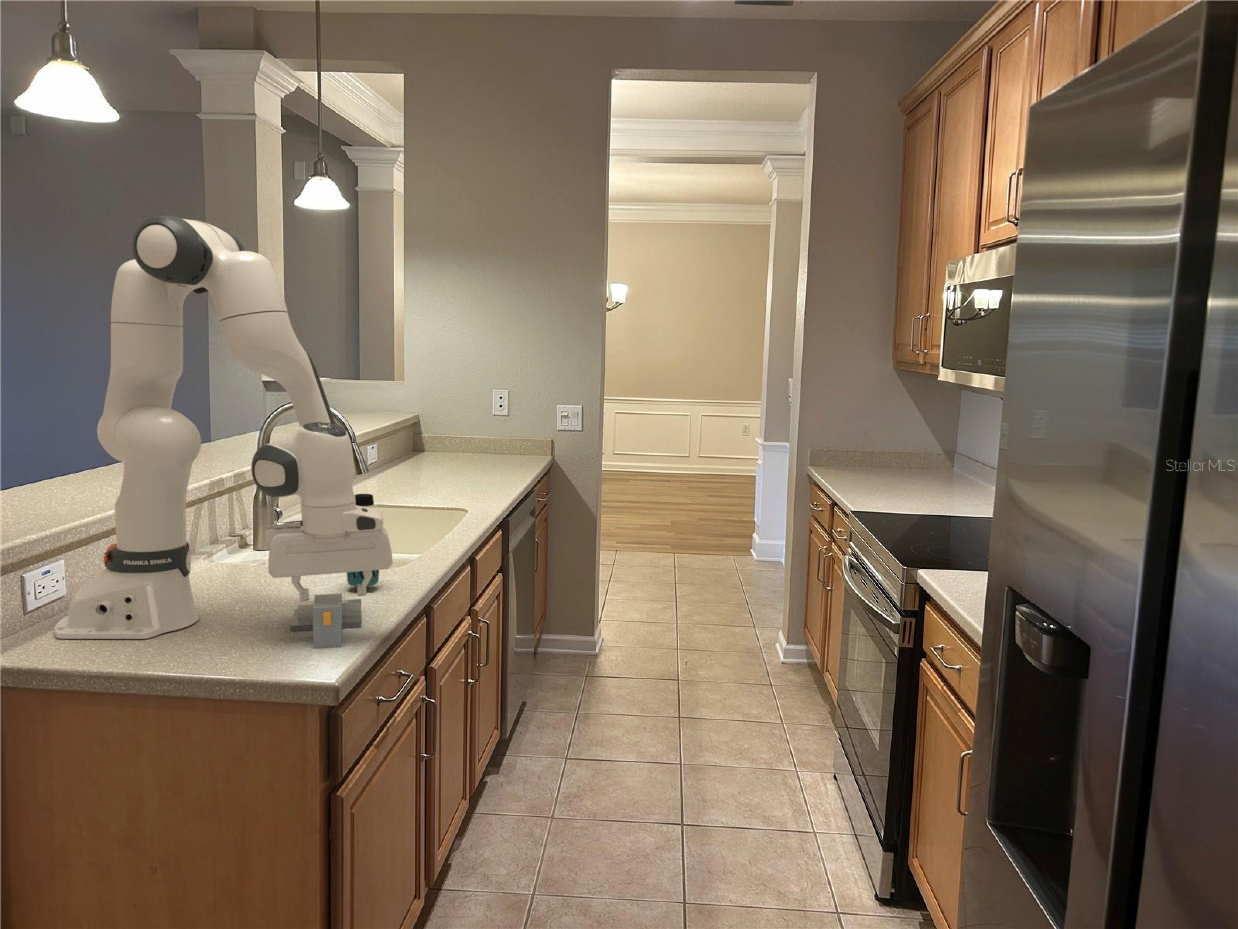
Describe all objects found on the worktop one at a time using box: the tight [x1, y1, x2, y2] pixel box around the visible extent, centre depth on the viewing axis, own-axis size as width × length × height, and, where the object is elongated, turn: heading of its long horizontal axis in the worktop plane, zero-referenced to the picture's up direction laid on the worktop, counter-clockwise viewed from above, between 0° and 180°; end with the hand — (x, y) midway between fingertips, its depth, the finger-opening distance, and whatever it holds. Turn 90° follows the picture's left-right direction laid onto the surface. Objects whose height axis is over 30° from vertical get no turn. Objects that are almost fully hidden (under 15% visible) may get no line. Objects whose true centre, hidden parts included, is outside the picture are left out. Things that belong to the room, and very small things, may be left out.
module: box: [312, 593, 343, 649], centre depth 157 cm, size 4×9×7 cm, turn 16°
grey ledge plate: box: [290, 598, 362, 632], centre depth 167 cm, size 12×10×4 cm
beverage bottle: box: [346, 493, 380, 587], centre depth 187 cm, size 6×7×20 cm
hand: (333, 597), depth 157 cm, fingers open, 8 cm apart
